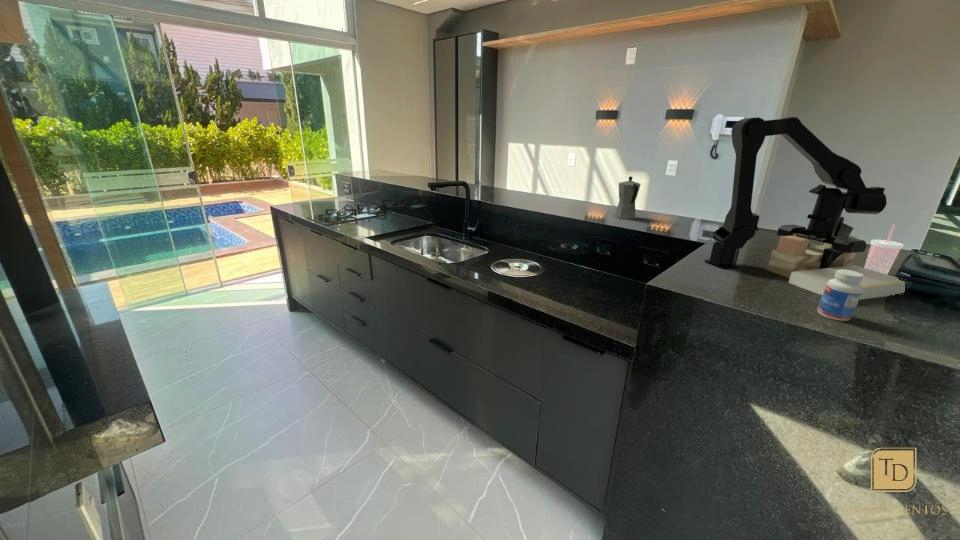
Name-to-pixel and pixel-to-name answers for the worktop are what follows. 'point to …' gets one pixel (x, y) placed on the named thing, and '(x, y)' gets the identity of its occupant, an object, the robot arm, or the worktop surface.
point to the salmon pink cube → (792, 245)
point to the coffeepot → (627, 199)
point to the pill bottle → (841, 295)
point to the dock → (872, 283)
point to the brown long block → (804, 261)
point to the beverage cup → (882, 254)
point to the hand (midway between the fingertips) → (808, 267)
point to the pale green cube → (837, 237)
